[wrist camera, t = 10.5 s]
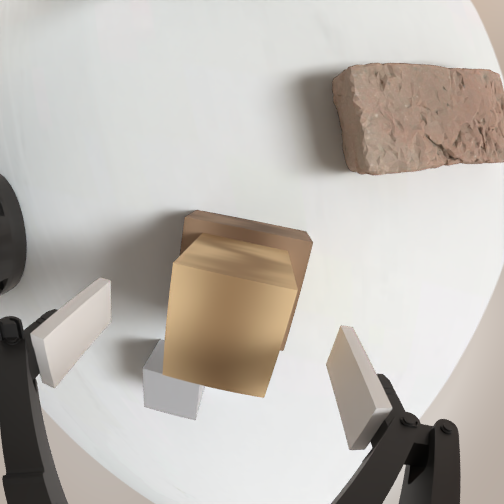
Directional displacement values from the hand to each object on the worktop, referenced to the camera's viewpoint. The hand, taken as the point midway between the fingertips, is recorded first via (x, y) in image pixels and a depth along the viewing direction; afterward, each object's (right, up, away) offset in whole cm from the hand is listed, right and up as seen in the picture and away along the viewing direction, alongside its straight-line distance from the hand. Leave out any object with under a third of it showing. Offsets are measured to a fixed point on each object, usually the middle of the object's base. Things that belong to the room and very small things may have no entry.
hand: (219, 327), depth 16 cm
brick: (+17, +16, +5) cm, 23 cm away
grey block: (-5, -7, +12) cm, 15 cm away
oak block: (+1, +1, +6) cm, 6 cm away
